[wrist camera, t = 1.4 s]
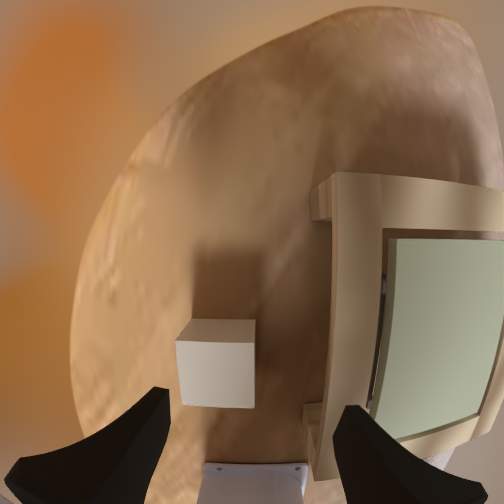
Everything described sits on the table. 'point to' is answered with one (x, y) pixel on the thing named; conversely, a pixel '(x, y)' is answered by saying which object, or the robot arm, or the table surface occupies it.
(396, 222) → the stand
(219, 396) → the beige cube
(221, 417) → the table surface
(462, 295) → the flap
